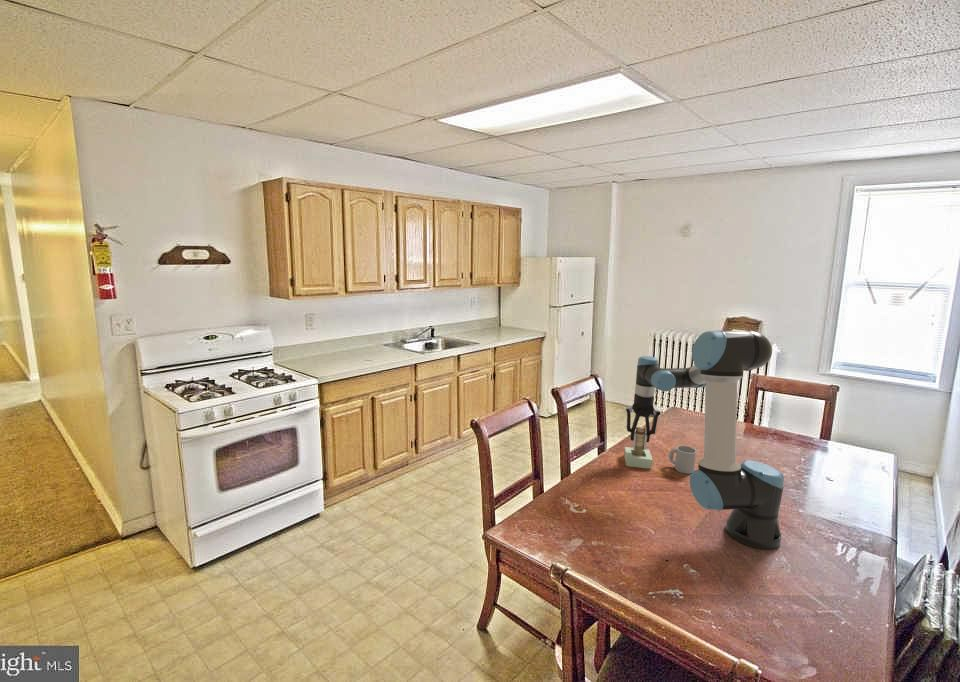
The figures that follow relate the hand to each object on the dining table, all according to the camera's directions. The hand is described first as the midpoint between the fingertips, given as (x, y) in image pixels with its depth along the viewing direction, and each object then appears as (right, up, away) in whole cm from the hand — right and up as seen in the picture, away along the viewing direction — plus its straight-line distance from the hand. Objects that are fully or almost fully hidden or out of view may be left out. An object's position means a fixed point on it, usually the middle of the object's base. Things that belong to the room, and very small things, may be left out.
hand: (638, 448), depth 197 cm
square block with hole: (0, -6, +1) cm, 6 cm away
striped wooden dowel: (0, -5, +1) cm, 5 cm away
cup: (+16, -8, -4) cm, 18 cm away
